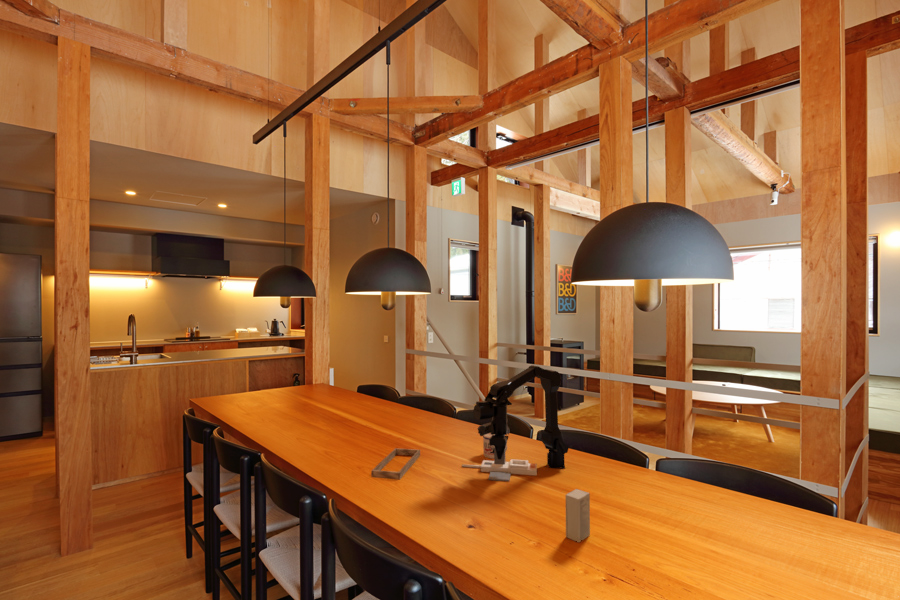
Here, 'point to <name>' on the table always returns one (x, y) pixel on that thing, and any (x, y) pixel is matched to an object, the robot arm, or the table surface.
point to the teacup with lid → (489, 446)
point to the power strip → (508, 467)
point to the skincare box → (577, 515)
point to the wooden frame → (396, 451)
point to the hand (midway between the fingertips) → (499, 457)
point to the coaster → (499, 476)
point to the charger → (499, 461)
